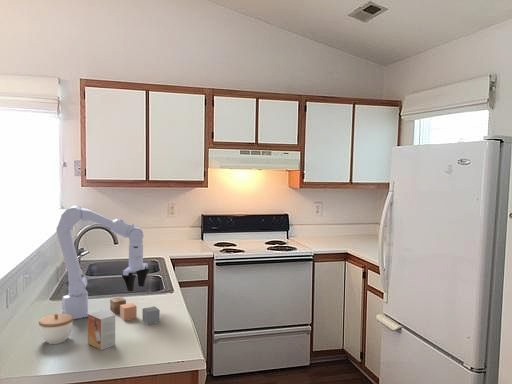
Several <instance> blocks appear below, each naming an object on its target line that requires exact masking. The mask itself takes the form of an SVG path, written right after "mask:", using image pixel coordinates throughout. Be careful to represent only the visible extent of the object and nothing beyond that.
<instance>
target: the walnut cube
mask: <svg viewBox="0 0 512 384" xmlns="http://www.w3.org/2000/svg"><path fill="white" fill-rule="evenodd" d="M109 303H110V304H109V305H110V307H109V310H111V311H112V312H113V313H116V314H119V313H118V312H120V305H123V304H127V300H126V298H125V297H122V296H120V297H115V298H110V299H109ZM111 311H110V312H111ZM112 312H111V313H112ZM113 313H112V314H113Z"/></svg>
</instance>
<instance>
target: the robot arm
mask: <svg viewBox="0 0 512 384" xmlns="http://www.w3.org/2000/svg"><path fill="white" fill-rule="evenodd" d="M80 220H81V222H88V221H91V222H93V223H96V224H99V225H102V226H104V227H107V228H109V229H110V232H111V233H113V234H116V235H118V236H121V237H123V238H128V239H129V242H128V243H129V244H128V267H126V268H125V269H123V270H122V273H121V277H122V279H123V280H124V283H125V286H126V290H127V292H133V291H134V288H135V287H134V286H135V285H134V284H135V279H136V277H137V284H138V287H142V288H143V287H144V286H145V282H146V278H147V276H148V274H149V272H150V269H149V264H148V263H147V262H144V242H143V239H144V231H143V229H142V228H141V227H139V225H135V223H134V224H133V223H132V224H130V223H127V222H125V221H124V219H122V218H115V219H111V218H109V217H106V216H104V215H102V214H100V213H98V212H95V211H94V210H91V209H89V208H85V207H81V206H80V205H72V206H70V207H68V208H67V209H65V211H64V212H63V213H62V214H61V215H60V219H59V222H58V225H57V227H56V229H55V230H56V234H57V238H58V242H59V245H60V249H61V252H62V257H63V260H64V264H65V266H66V270H67V280H68V287H67V290H68V293H67V295H63V296H62V298H61V300H62V301H61V308H62V309H61V314H70V315H72V316H73V320H76V319H77V320H78V319H83V317H84V318H88V314H90V313H91V312H89V291H88V290H87V289H86V287H88V279H87V277H86V276H85V274H84V272H83V270H82V268H81V265H80V260H79V258H78V253H77V251H76V246H75V243H74V240H73V236H72V235H73V234H72V232H71V230H72V229H73V228H74V227H75V226H76V224H77V223H78V222H79V221H80ZM133 273H136V274H133Z"/></svg>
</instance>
